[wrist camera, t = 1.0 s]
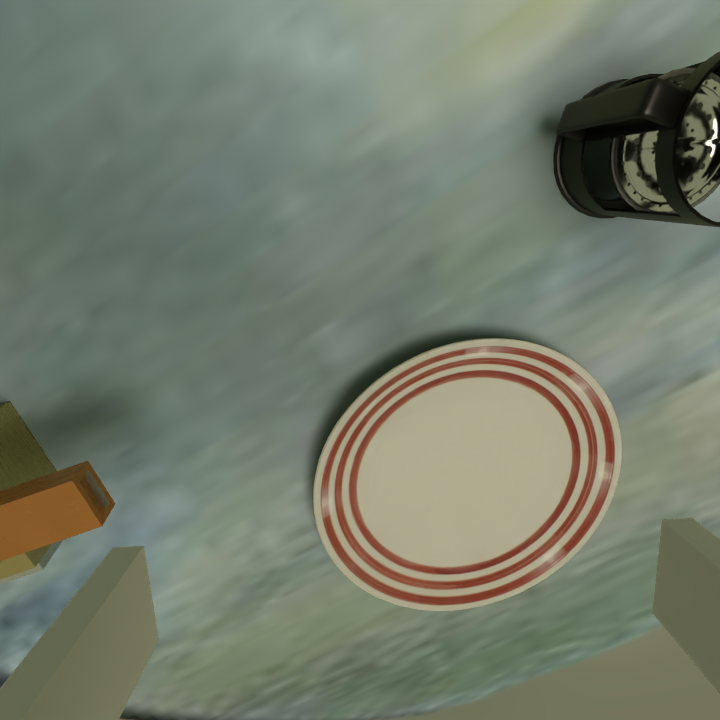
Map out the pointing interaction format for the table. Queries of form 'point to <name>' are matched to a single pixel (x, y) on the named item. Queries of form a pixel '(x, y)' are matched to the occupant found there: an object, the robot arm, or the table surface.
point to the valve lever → (52, 509)
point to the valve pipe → (16, 466)
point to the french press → (647, 144)
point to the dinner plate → (467, 474)
